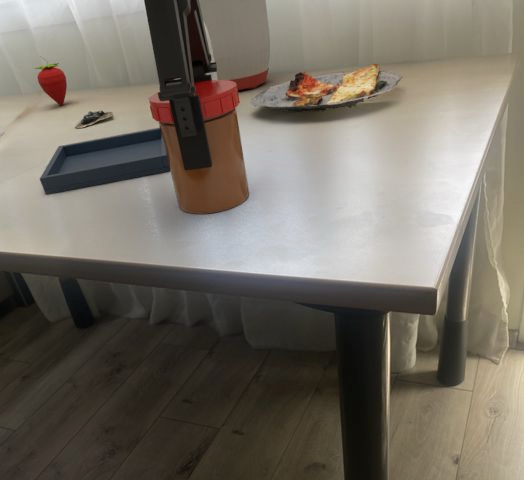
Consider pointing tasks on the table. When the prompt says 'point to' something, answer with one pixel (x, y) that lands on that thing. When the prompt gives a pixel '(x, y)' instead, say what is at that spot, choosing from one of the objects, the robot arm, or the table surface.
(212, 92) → the lid
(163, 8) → the robot arm
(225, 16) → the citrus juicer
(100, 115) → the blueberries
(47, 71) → the strawberry
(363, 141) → the table surface
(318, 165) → the table surface
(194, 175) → the jar
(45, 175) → the tray
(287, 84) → the food plate
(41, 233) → the table surface
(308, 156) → the table surface
